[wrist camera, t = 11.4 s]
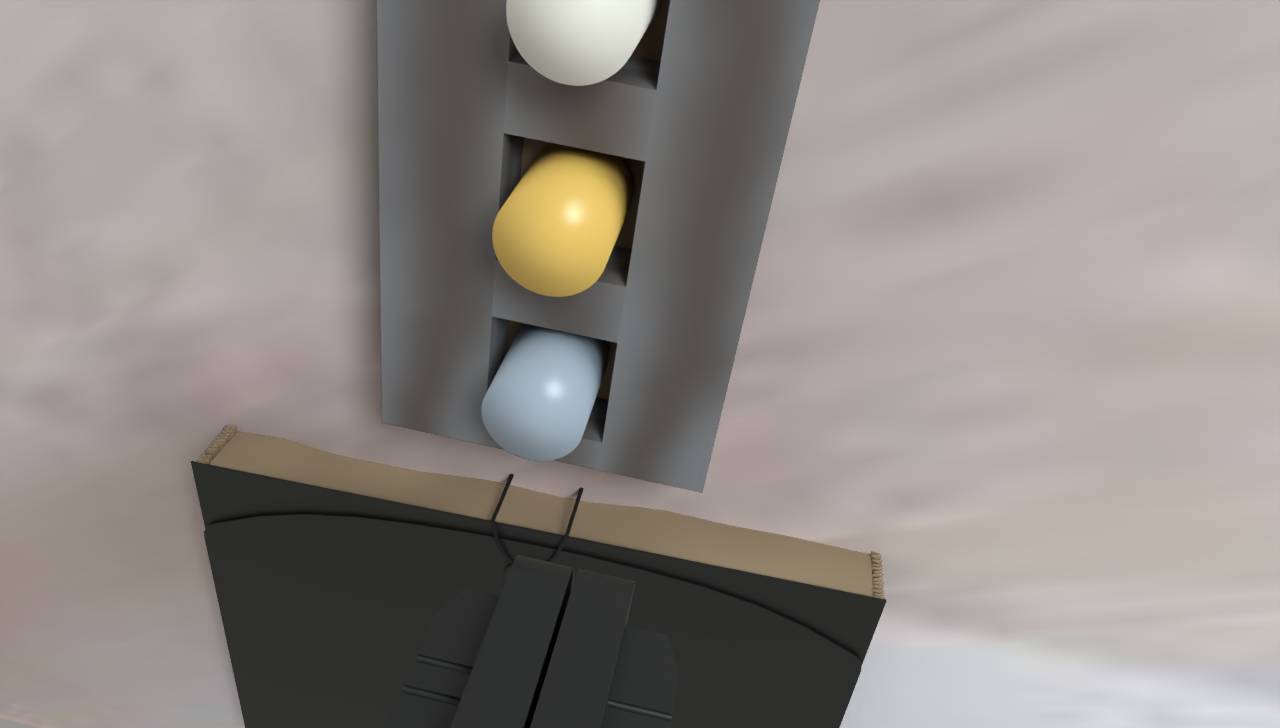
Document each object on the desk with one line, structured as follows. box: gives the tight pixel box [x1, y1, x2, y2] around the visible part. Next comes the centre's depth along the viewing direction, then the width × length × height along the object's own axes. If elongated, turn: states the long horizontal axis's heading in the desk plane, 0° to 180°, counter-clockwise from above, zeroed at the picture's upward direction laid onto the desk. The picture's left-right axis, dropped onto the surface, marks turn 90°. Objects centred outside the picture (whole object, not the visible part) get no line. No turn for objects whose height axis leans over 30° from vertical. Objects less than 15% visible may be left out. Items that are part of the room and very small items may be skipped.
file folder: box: [191, 425, 886, 728], centre depth 53 cm, size 33×4×24 cm
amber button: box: [492, 143, 634, 297], centre depth 35 cm, size 4×4×5 cm
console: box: [377, 0, 820, 493], centre depth 36 cm, size 14×23×4 cm, turn 172°
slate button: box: [481, 323, 609, 461], centre depth 39 cm, size 4×4×5 cm
